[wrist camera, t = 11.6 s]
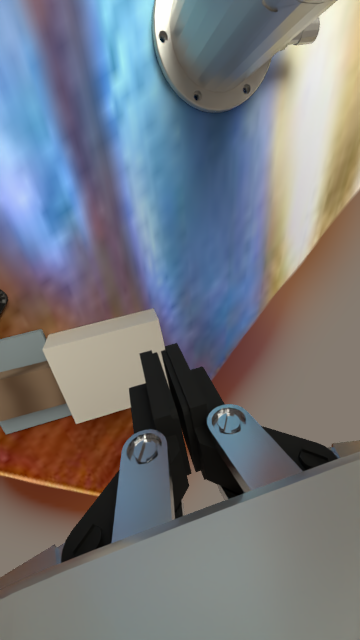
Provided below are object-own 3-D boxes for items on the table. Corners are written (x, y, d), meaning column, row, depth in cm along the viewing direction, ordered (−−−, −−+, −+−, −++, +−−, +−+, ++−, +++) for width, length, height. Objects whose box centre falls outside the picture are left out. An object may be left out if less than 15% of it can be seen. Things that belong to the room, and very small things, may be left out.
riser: (153, 308, 38) (158, 319, 34) (169, 377, 43) (175, 393, 39) (48, 334, 36) (42, 349, 32) (78, 404, 41) (76, 424, 37)
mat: (41, 329, 35) (40, 330, 34) (77, 410, 41) (77, 413, 41) (-43, 349, 34) (-45, 352, 33) (7, 431, 40) (6, 434, 39)
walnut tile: (55, 358, 36) (53, 366, 35) (70, 393, 39) (68, 402, 37) (-17, 376, 35) (-24, 385, 33) (3, 411, 38) (-2, 422, 36)
